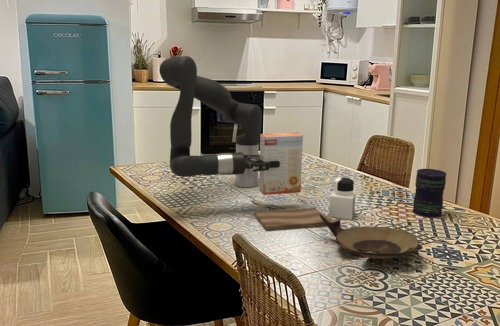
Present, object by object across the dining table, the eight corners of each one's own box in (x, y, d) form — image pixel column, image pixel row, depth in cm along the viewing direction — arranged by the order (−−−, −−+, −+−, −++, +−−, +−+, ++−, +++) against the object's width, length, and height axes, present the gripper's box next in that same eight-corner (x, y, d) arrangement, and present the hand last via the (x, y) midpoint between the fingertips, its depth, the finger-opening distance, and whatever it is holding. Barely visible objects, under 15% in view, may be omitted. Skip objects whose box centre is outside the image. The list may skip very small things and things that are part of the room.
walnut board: (254, 216, 170) (254, 211, 169) (314, 211, 175) (314, 207, 175) (266, 230, 157) (266, 226, 156) (331, 225, 162) (331, 221, 162)
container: (354, 213, 175) (357, 177, 172) (351, 220, 168) (354, 183, 165) (332, 210, 178) (334, 174, 175) (328, 217, 171) (330, 180, 167)
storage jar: (420, 206, 184) (425, 167, 180) (446, 213, 177) (451, 172, 174) (407, 212, 177) (411, 171, 174) (433, 219, 170) (438, 177, 167)
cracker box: (295, 188, 183) (297, 131, 177) (300, 193, 177) (304, 135, 172) (258, 190, 179) (259, 132, 174) (263, 195, 173) (265, 136, 168)
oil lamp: (378, 280, 126) (380, 251, 125) (306, 239, 151) (308, 215, 150) (437, 262, 138) (441, 236, 136) (362, 227, 163) (364, 204, 161)
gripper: (234, 158, 163) (283, 156, 167) (225, 148, 176) (270, 146, 181) (234, 180, 165) (282, 177, 169) (225, 169, 178) (270, 166, 183)
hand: (276, 161), depth 175 cm, fingers closed on cracker box, 6 cm apart
